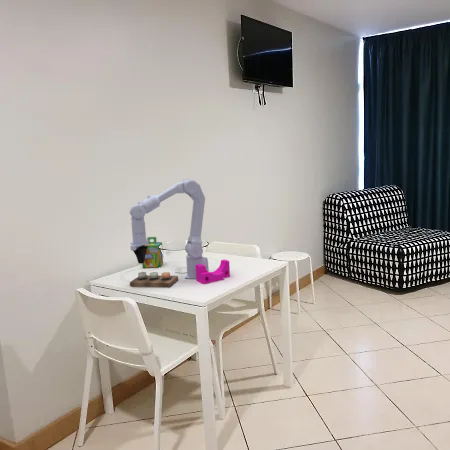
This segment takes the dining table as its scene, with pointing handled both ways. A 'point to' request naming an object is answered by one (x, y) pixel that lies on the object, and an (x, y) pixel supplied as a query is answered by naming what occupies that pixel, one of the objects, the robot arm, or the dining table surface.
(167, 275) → the terracotta button
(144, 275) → the grey button
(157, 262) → the chalk box
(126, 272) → the dining table surface
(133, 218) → the robot arm
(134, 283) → the button panel
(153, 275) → the sage button
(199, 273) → the toy block
